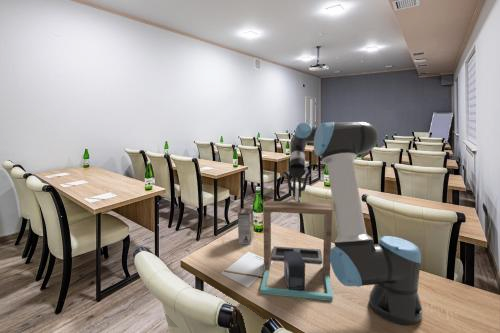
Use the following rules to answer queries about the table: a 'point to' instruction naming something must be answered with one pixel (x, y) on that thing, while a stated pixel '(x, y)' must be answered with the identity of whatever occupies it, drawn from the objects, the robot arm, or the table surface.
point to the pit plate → (306, 254)
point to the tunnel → (298, 208)
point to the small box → (294, 270)
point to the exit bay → (294, 292)
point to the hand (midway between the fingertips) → (296, 203)
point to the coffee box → (245, 226)
